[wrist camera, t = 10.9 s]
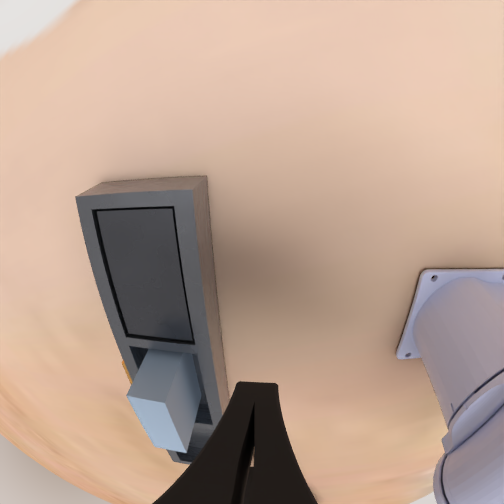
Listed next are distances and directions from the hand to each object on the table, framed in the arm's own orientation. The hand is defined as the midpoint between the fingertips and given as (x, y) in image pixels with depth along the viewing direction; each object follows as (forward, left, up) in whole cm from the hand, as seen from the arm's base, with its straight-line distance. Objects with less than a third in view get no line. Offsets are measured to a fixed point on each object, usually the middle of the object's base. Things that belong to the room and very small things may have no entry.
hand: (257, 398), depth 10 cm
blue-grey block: (+7, +9, -9) cm, 15 cm away
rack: (+7, +10, -10) cm, 15 cm away
